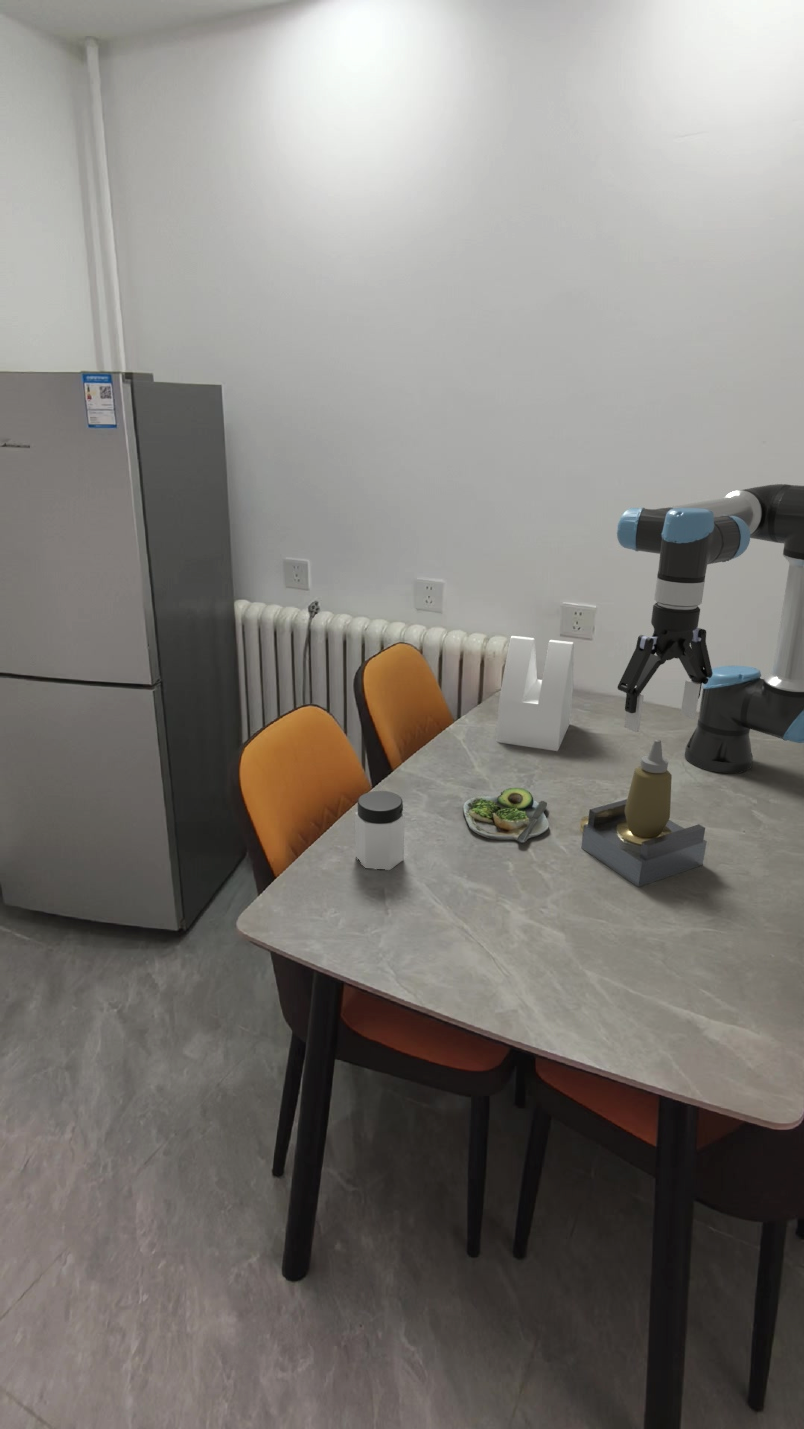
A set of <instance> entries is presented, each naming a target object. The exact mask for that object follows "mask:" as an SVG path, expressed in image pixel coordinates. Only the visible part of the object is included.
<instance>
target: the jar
mask: <svg viewBox="0 0 804 1429" xmlns="http://www.w3.org/2000/svg"><path fill="white" fill-rule="evenodd" d="M403 802H404V801H403V798H402V797H401V796H400V795H399V794H397V793H395V792H391V791H387V790H373V791H368V792H366V793H365V792H364V793H363V794H362V795H360V796H359V797H358V798H357V811H355V813H354V816H355V817H354V819H355V820H354V823H355V824H354V826H355V827H354V828H355V830H354V832H355V835H354V836H355V837H354V838H355V842H354V843H355V844H354V845H355V855H356V856H357V858H358V859H359V860H360V862H361V863H362V864H363V865H364V867H366V868H376V869H375V870H377V869H385V870H384V871H391V870H392V869H393V868H394V867H396V866H397V865H398V864H400V863H401V862H402V861H404V858H405V828H406V827H405V824H406V823H405V821H406V820H405V819H406V817H405V816H406V815H405V814H404V813H403V811H404V803H403ZM357 858H356V859H357ZM358 859H357V860H358ZM360 862H359V863H360ZM361 863H360V864H361ZM362 864H361V865H362ZM364 867H363V868H364Z"/></svg>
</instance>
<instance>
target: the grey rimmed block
mask: <svg viewBox="0 0 804 1429" xmlns="http://www.w3.org/2000/svg"><path fill="white" fill-rule="evenodd" d="M626 802H627V798H626V799H623V800H619V801H615V802H612V803H608V804H604V805H601V806H598V807H594V808H593V807H592V808H590V809H589V812H588V816H589V819H588V824H585V825H584V828H583V834H582V838H581V846H580V847H581V849H582V850H584V851H585V852H586V853H588V854H590V855H591V856H592V857H594V858H595V859H597V860H598V861H599V862H601V863H602V864H604V865H605V866H606V867H608V868H610V869H611V870H612V871H614V872H615V873H617V874H618V875H620V876H621V877H623V879H625V880H627V881H628V882H629V883H631V884H633V885H634V886H635V887H638V888H640V887H642V886H645V885H646V886H647V885H649V884H651V883H654V882H658V881H661V880H663V879H666V878H669V877H672V876H675V875H677V874H680V873H683V872H687V871H689V870H692V869H696V868H698V867H701V866H703V864H704V859H705V852H706V848H707V840H705V834H706V833H705V832H706V827H705V826H703V825H701V824H698V823H697V824H696V825H692V826H689V827H686V828H684V827H683V826H681V825H679V824H677V823H676V822H673V821H672V820H670V819H669V821H668V822H667V824H666V826H665V827H664V829H663V831H662V833H661V834H660V835H659V836H657V837H642V836H638V835H636V834H633V833H632V832H631V831H630V830H629V828H628V824H627V820H626V816H625V811H624V810H625V806H626Z"/></svg>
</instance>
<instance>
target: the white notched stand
mask: <svg viewBox="0 0 804 1429" xmlns="http://www.w3.org/2000/svg"><path fill="white" fill-rule="evenodd" d="M508 644H509V645H508V649H507V654H506V658H505V659H506V660H505V666H504V670H503V671H504V672H503V675H502V680H501V681H502V682H501V688H500V693H499V697H498V709H497V710H498V713H497V724H496V726H497V727H496V741H495V742H496V743H501V744H508V745H516V746H522V747H528V748H533V749H540V750H541V749H543V750H548V751H554V752H555V751H556V752H559V749H560V747H561V744H562V743H563V739H564V738H565V735H566V732H567V731H568V729H569V726H570V723H571V722H570V720H571V714H572V702H573V701H572V700H573V692H574V691H573V690H574V663H575V662H574V660H575V659H574V648H575V647H574V641H564V640H558V639H557V640H556V639H550V640H549V641H548V644H547V648H546V649H547V651H546V655H545V656H546V657H545V662H544V668H543V674H542V679H538V676H537V675H538V674H537V673H538V672H537V656H536V654H537V653H536V638H535V637H528V636H519V635H517V636H516V635H511V636H510V638H509V643H508Z"/></svg>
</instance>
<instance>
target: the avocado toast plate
mask: <svg viewBox="0 0 804 1429" xmlns="http://www.w3.org/2000/svg"><path fill="white" fill-rule="evenodd" d="M547 807H548V803H547V802H546V801H545V800H541V801H536V800H534V797H533V795H532V793H531V792H530V791H528V790H527V789H525V788H522V787H510V788H506V789H504V790H503V791H501V792H500V795H498V796H487V795H485V796H481V795H480V796H474V797H471V798H469V799H467V800H466V801H465V802H464V803H463V805H462V813H463V815H464V817H465V820H466V824H468V827H469V829H470V830H471V831H473V833H476V834H477V835H478V836H479V835H480V836H481V837H483V838H484V837H485V838H486V839H490V840H496V841H516V842H518V843H519V844H520V843H521V844H522V843H523V844H524V843H527V840H528V839H530V838H533V837H537V836H539V835H542V834H543V833H545V832H547V831H548V830H549V826H550V824H549V821H548V819H547V817H546V814H545V813H544V811H545V810H546V809H547ZM476 820H477V821H479V822H483V823H489V824H492V825H494V826H496V827H497V828H496V829H497V830H499V831H498V832H490V831H487V830H485V829H483V828H481V827H480V826H479V825H478V824H477V822H476Z"/></svg>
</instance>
